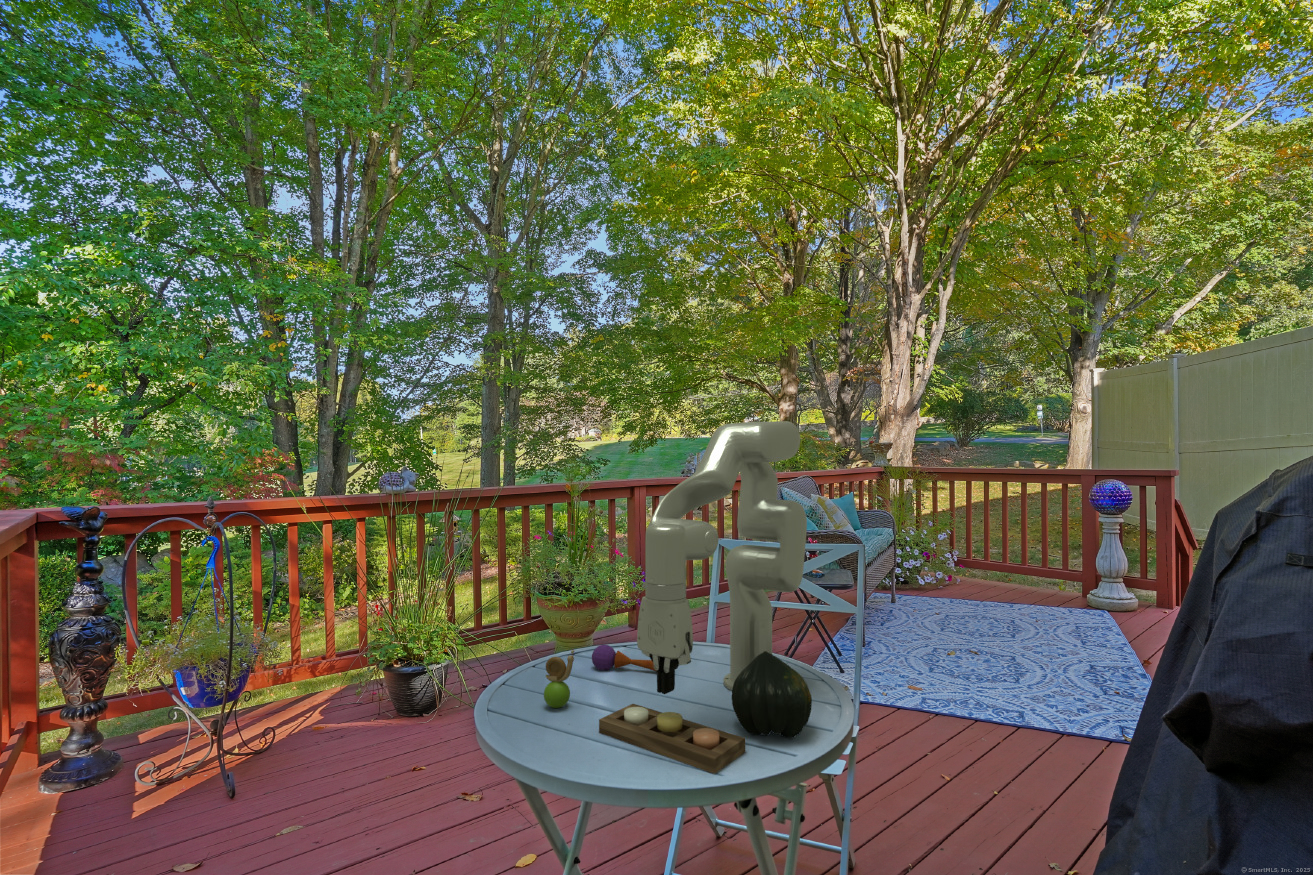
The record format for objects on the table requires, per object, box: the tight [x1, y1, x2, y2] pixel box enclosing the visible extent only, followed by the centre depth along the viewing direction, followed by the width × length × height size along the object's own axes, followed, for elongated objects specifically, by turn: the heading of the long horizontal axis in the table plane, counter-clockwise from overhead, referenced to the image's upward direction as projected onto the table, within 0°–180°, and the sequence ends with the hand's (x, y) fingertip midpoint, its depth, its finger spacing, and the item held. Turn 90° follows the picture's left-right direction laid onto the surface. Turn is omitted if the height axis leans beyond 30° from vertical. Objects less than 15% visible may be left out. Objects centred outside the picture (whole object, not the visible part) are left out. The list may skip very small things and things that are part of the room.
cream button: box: [624, 706, 648, 726], centre depth 126 cm, size 5×5×2 cm
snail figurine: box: [543, 649, 575, 709], centre depth 138 cm, size 5×6×12 cm
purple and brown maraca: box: [591, 644, 657, 672], centre depth 160 cm, size 6×6×20 cm
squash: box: [731, 651, 813, 739], centre depth 127 cm, size 14×15×15 cm
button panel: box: [598, 703, 746, 775], centre depth 121 cm, size 10×26×2 cm, turn 52°
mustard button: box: [657, 711, 683, 732], centre depth 121 cm, size 5×5×2 cm
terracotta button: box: [693, 728, 719, 750], centre depth 116 cm, size 5×5×2 cm
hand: (665, 690), depth 122 cm, fingers closed
